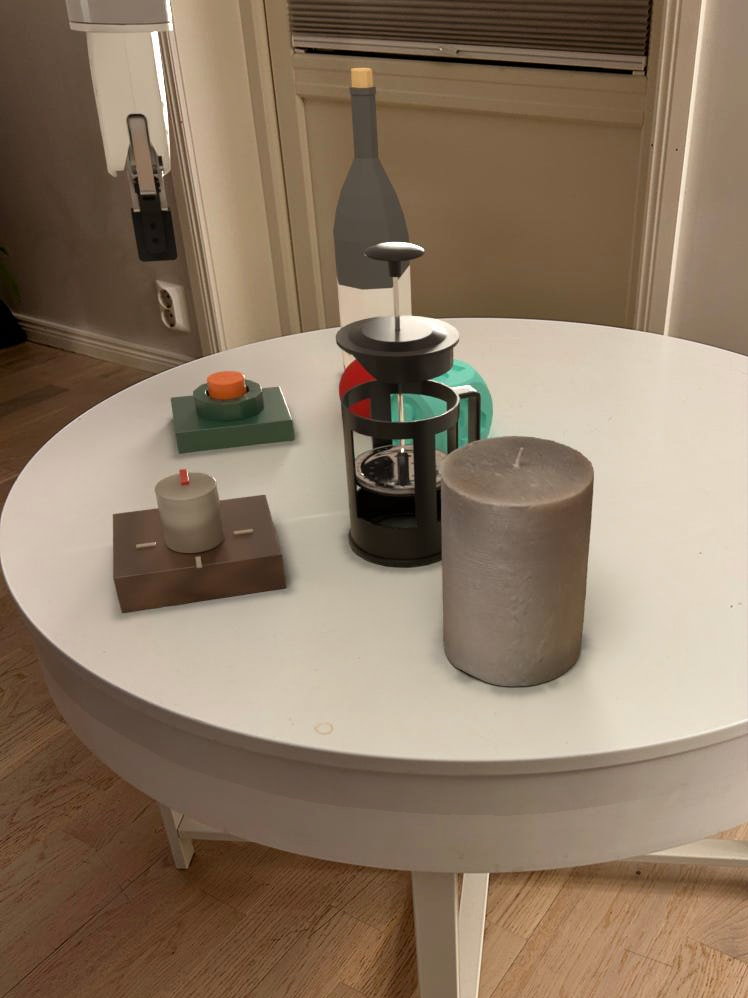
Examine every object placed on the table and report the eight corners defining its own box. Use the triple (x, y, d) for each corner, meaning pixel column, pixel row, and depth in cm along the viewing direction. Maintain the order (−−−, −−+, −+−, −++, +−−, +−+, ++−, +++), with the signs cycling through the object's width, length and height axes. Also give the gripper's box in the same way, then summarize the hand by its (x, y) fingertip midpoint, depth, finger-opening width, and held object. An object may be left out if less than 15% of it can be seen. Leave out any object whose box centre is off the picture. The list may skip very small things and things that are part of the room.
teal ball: (493, 449, 96) (494, 368, 91) (442, 479, 91) (441, 395, 86) (428, 428, 100) (426, 350, 95) (376, 456, 94) (371, 374, 90)
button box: (179, 454, 95) (171, 414, 92) (174, 417, 102) (167, 380, 99) (294, 440, 97) (290, 401, 95) (282, 406, 104) (278, 369, 102)
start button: (210, 403, 95) (207, 386, 94) (207, 390, 98) (205, 372, 97) (248, 399, 96) (246, 382, 95) (244, 386, 99) (242, 369, 98)
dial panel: (121, 615, 72) (112, 578, 71) (120, 546, 80) (112, 511, 79) (287, 590, 75) (282, 554, 73) (269, 526, 83) (265, 492, 81)
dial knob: (227, 548, 74) (218, 490, 71) (167, 557, 73) (154, 499, 70) (222, 521, 78) (212, 465, 75) (164, 529, 77) (152, 472, 74)
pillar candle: (566, 603, 74) (579, 413, 65) (594, 684, 66) (613, 479, 57) (436, 611, 73) (431, 419, 64) (448, 694, 65) (445, 487, 56)
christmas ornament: (344, 411, 103) (336, 314, 97) (412, 410, 103) (409, 314, 98) (339, 440, 97) (330, 338, 92) (411, 439, 98) (407, 338, 92)
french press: (365, 580, 76) (343, 272, 63) (325, 526, 83) (297, 238, 70) (501, 546, 81) (507, 252, 67) (452, 498, 88) (449, 221, 74)
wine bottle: (354, 361, 115) (334, 63, 98) (422, 366, 114) (413, 65, 96) (332, 386, 109) (306, 72, 91) (404, 392, 107) (391, 75, 90)
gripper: (69, 1, 80) (112, 240, 91) (63, 12, 69) (113, 284, 79) (165, 2, 82) (196, 236, 93) (175, 13, 71) (210, 279, 81)
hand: (158, 258), depth 86 cm, fingers closed
